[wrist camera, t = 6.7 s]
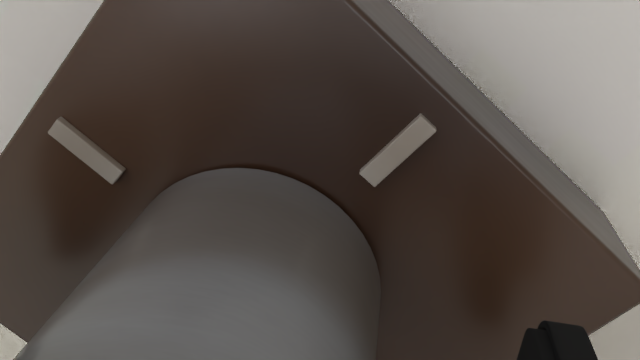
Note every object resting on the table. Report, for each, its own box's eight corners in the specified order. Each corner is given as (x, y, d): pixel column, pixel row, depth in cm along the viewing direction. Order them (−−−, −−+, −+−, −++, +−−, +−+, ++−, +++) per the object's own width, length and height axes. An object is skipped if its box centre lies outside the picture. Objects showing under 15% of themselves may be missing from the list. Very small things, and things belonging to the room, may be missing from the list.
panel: (604, 212, 13) (660, 301, 10) (304, 426, 17) (283, 533, 14) (253, -134, 11) (196, -148, 8) (10, 203, 15) (-85, 273, 12)
